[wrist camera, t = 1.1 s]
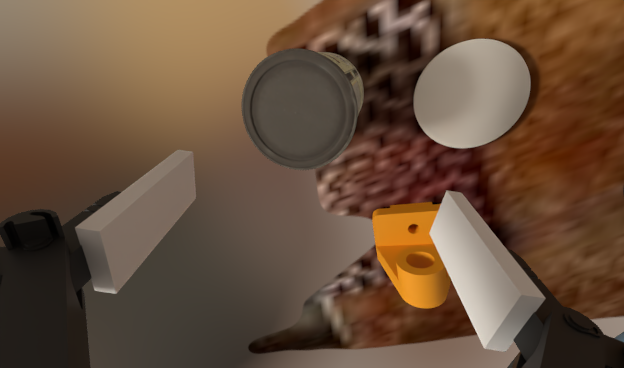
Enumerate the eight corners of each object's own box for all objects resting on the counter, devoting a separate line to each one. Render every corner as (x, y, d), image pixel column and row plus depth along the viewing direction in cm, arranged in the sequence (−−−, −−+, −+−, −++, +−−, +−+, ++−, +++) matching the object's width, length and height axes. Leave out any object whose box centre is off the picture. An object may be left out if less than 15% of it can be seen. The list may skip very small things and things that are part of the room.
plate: (551, 72, 31) (558, 73, 30) (475, 162, 37) (478, 165, 36) (456, 18, 31) (459, 17, 30) (393, 116, 37) (394, 117, 35)
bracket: (451, 200, 39) (479, 253, 29) (453, 244, 42) (478, 308, 31) (371, 206, 42) (369, 257, 31) (377, 247, 45) (377, 307, 34)
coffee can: (290, 135, 40) (250, 170, 28) (282, 55, 37) (231, 54, 24) (365, 133, 38) (358, 170, 26) (364, 48, 34) (356, 42, 22)
